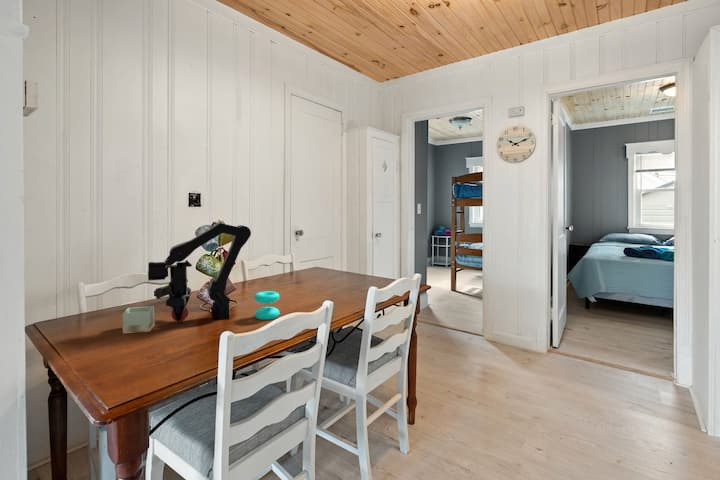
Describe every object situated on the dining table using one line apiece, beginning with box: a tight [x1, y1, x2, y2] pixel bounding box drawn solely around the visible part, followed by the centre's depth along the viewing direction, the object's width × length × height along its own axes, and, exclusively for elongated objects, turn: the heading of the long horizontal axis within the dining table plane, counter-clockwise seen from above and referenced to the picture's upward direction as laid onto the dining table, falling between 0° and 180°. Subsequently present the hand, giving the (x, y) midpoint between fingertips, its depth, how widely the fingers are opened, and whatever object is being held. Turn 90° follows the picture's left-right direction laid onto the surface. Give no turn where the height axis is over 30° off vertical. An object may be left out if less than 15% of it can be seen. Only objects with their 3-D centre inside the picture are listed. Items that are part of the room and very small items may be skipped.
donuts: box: [254, 290, 280, 321], centre depth 154 cm, size 10×10×10 cm
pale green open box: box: [122, 305, 155, 327], centre depth 137 cm, size 8×8×4 cm
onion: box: [171, 306, 189, 324], centre depth 145 cm, size 6×6×8 cm
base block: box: [122, 317, 156, 334], centre depth 138 cm, size 8×8×3 cm
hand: (179, 317), depth 145 cm, fingers closed on onion, 6 cm apart
